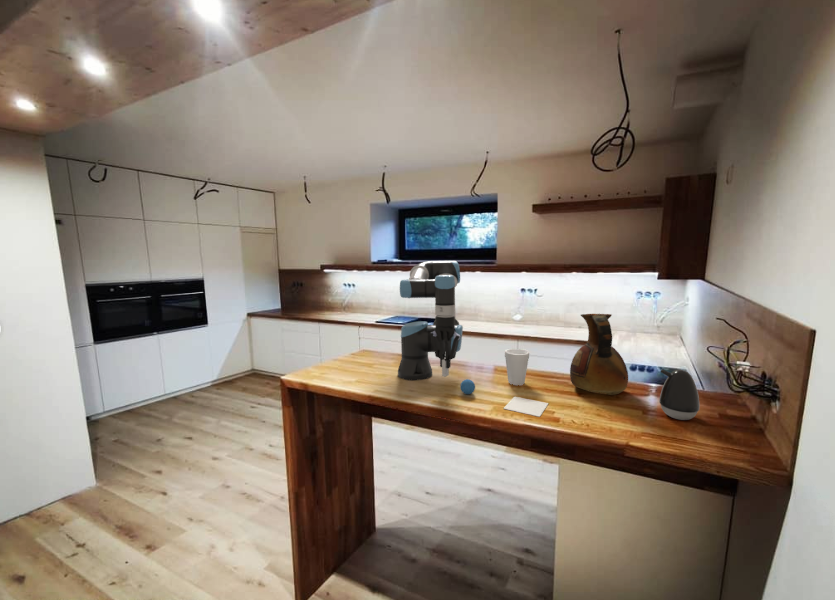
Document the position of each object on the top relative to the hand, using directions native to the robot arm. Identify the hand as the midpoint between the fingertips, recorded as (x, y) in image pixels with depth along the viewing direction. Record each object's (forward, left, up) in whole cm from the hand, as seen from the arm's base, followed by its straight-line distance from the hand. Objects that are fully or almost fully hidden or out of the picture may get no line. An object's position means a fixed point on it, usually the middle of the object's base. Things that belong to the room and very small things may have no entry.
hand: (445, 375), depth 137 cm
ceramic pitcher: (+50, +28, -6) cm, 58 cm away
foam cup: (+21, +21, -6) cm, 31 cm away
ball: (+9, 0, -3) cm, 10 cm away
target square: (+31, 0, -6) cm, 32 cm away
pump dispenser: (+74, +17, -6) cm, 77 cm away
